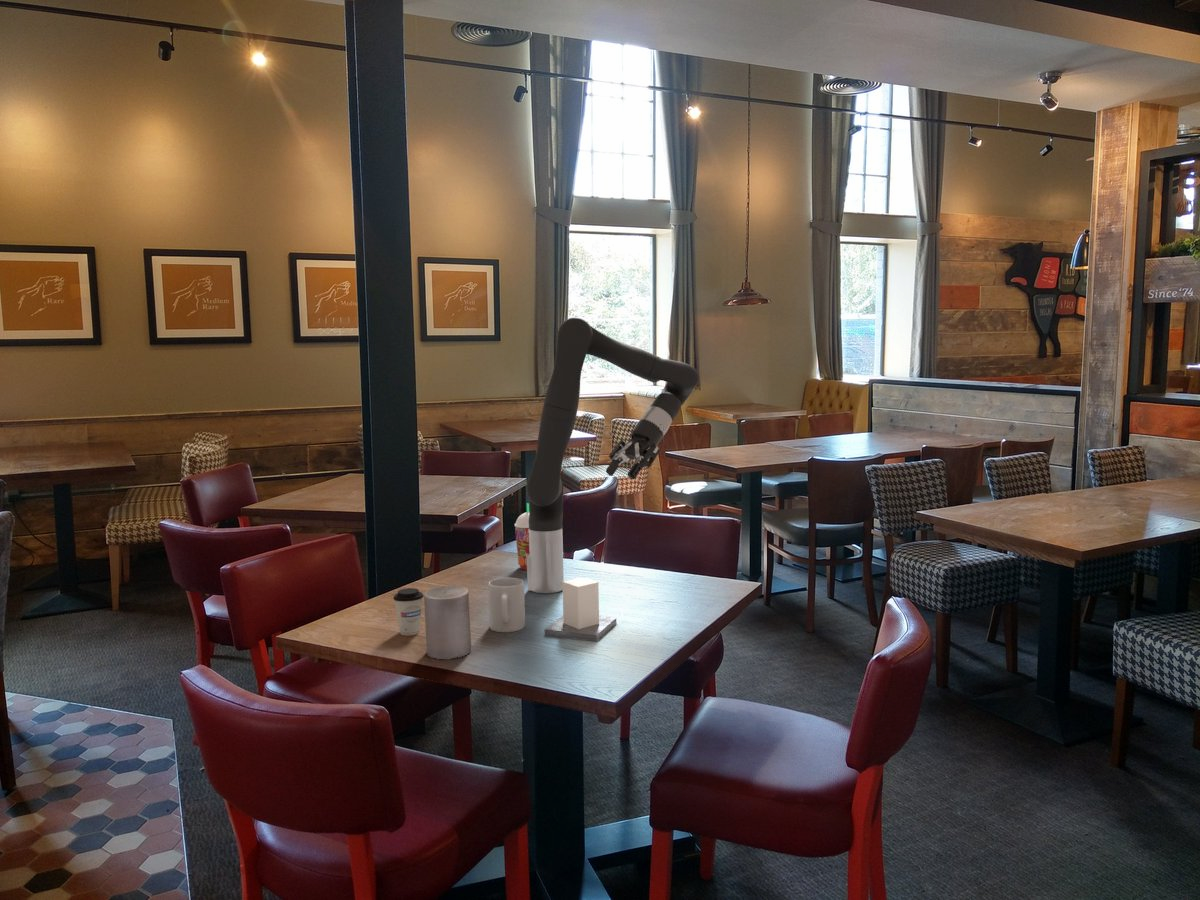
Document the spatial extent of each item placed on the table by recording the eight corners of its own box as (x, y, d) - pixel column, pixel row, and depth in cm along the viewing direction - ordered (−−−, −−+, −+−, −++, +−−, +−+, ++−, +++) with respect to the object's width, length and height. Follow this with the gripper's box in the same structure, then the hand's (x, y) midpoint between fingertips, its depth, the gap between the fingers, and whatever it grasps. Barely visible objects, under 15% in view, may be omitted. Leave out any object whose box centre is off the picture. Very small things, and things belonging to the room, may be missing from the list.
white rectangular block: (563, 623, 198) (562, 581, 197) (583, 617, 202) (582, 577, 201) (578, 629, 194) (577, 586, 192) (599, 623, 197) (598, 582, 196)
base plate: (544, 635, 194) (543, 601, 193) (566, 618, 206) (565, 586, 205) (596, 641, 189) (596, 606, 189) (616, 623, 202) (615, 591, 201)
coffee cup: (393, 629, 200) (391, 588, 199) (422, 625, 203) (420, 585, 202) (396, 638, 194) (394, 596, 193) (427, 634, 196) (425, 593, 195)
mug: (491, 621, 205) (489, 577, 204) (526, 620, 205) (524, 576, 204) (486, 638, 193) (484, 591, 192) (523, 637, 193) (522, 590, 192)
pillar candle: (439, 643, 190) (436, 578, 189) (479, 646, 188) (475, 581, 186) (418, 658, 181) (414, 591, 179) (459, 662, 178) (456, 593, 177)
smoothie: (510, 568, 256) (508, 504, 254) (530, 563, 262) (528, 500, 260) (528, 572, 251) (526, 506, 248) (549, 567, 257) (547, 503, 254)
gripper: (626, 417, 223) (593, 463, 217) (663, 419, 212) (629, 469, 206) (641, 435, 227) (609, 482, 221) (678, 438, 216) (645, 487, 210)
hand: (619, 475), depth 213 cm, fingers open, 8 cm apart
